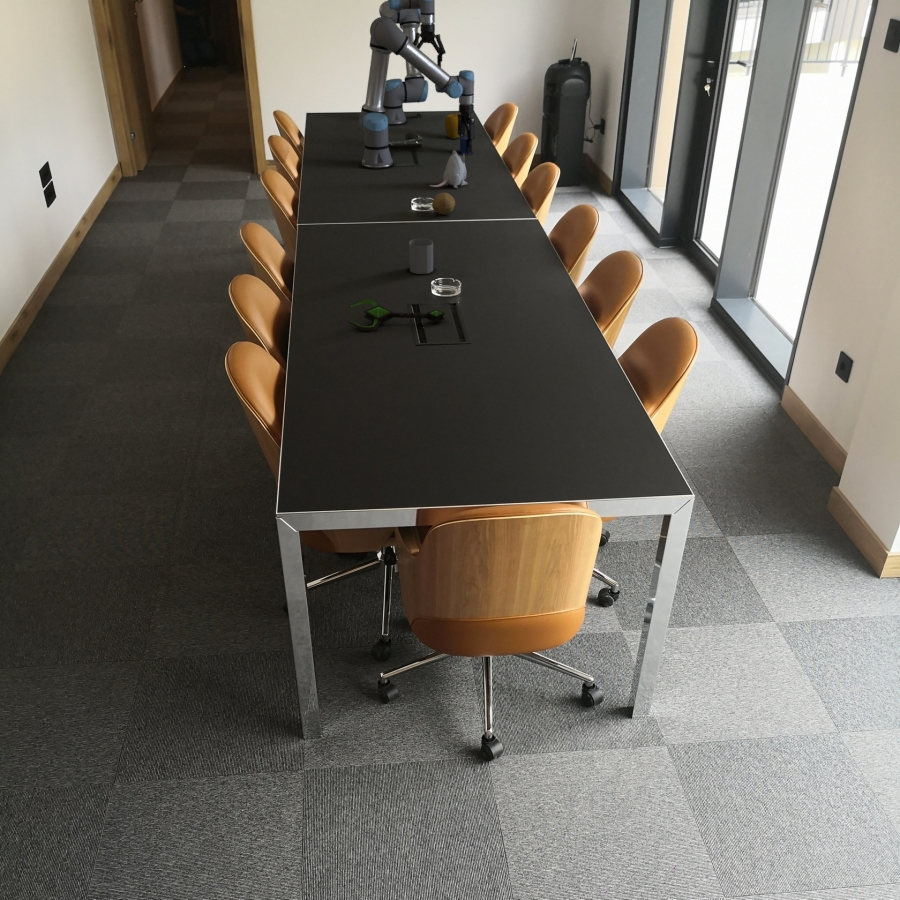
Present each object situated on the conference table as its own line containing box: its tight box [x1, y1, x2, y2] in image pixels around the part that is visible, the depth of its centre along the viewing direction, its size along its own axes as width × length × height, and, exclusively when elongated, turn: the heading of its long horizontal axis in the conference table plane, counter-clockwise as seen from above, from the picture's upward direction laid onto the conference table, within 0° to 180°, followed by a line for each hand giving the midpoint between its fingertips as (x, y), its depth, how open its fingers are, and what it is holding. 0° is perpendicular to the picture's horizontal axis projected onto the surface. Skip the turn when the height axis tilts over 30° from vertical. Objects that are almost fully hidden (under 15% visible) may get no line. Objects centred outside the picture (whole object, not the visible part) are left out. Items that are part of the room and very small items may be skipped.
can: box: [459, 136, 472, 155], centre depth 447 cm, size 6×6×7 cm
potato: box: [431, 192, 456, 216], centre depth 360 cm, size 10×14×8 cm
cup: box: [408, 237, 434, 275], centre depth 305 cm, size 8×8×10 cm
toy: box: [428, 149, 468, 189], centre depth 390 cm, size 9×24×15 cm, turn 137°
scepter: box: [348, 298, 446, 331], centre depth 269 cm, size 6×13×30 cm
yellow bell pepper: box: [444, 113, 460, 140], centre depth 472 cm, size 11×11×13 cm
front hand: (465, 151), depth 448 cm, fingers closed on can, 6 cm apart
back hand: (428, 67), depth 464 cm, fingers open, 13 cm apart
